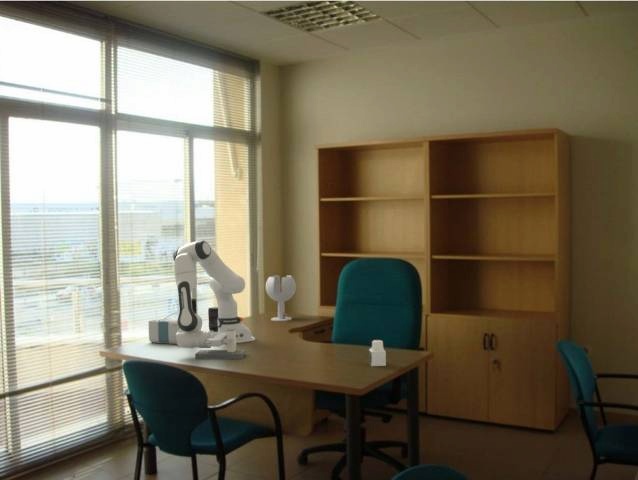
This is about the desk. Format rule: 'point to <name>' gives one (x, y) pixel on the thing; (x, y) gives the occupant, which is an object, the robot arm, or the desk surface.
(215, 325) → the camera lens
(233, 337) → the fader knob
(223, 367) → the desk surface
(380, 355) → the medicine bottle
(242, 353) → the mixing console
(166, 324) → the stereo radio cassette player
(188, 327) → the robot arm
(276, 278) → the stemmed glass
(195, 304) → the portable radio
